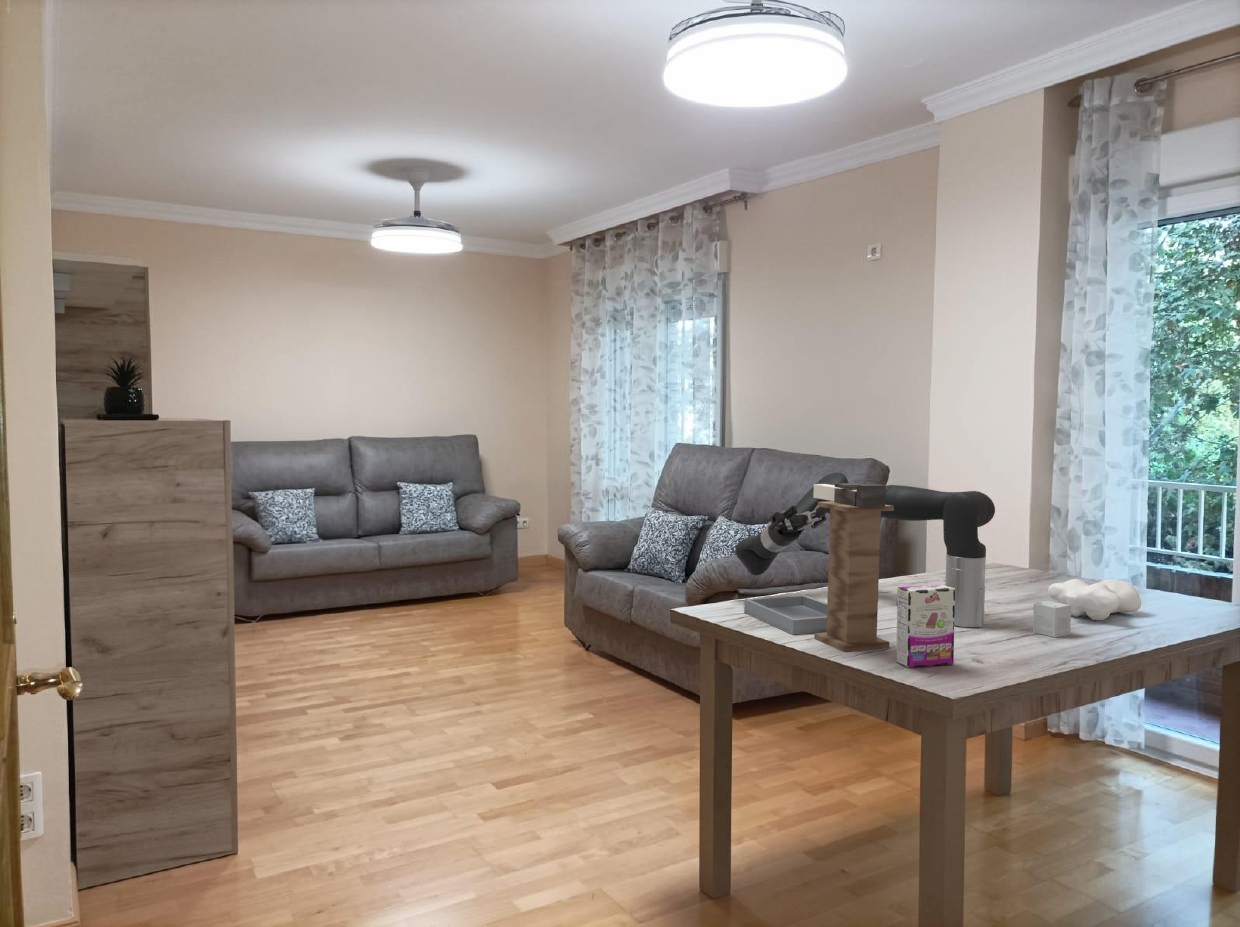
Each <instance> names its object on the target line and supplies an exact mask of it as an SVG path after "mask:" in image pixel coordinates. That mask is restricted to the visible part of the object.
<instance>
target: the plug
mask: <svg viewBox="0 0 1240 927" xmlns="http://www.w3.org/2000/svg"><path fill="white" fill-rule="evenodd" d="M813 486H814V494H813V497H814V498H819V499H824V500H830V501H834V492H835V489H837V488H838V487H835V485H828V484H816V483H814V484H813ZM839 489H844V488H839ZM845 490H851V491H857V489H854V488H851V489H845Z"/></svg>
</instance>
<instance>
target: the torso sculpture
mask: <svg viewBox="0 0 1240 927" xmlns="http://www.w3.org/2000/svg"><path fill="white" fill-rule="evenodd" d="M1047 593H1048V595H1049V597H1050V599H1052V600H1054V601H1055V602H1058V603H1062V604H1067V605H1071V616H1073V617H1074V616H1075V618H1078V617H1080V616H1081V617H1082V616H1083V614H1086V615H1087V616H1088V618H1090V619H1091V620H1092V621H1094V620H1102V621H1104V620H1106V619H1107V618H1108V617H1109V616H1110V614H1116V613H1133V612H1137V611H1138V610H1140V609H1141V607H1142V600H1141V597H1140V593H1139V591H1138V590H1137V587H1135V586H1134V585H1132V584H1131V583H1129V582H1127V581H1122V580H1118V579H1117V580H1116V579H1110V578H1109V579H1108V578H1107V579H1103V580H1101V581H1100V582H1095V583H1093V584H1088V583H1086V582H1084V581H1083V580H1081V579H1078V578H1073V579H1069V580H1067V581H1065V582H1064V581H1063V582H1055V583H1052V584H1050V585H1049V587H1048V590H1047Z"/></svg>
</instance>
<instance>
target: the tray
mask: <svg viewBox="0 0 1240 927" xmlns="http://www.w3.org/2000/svg"><path fill="white" fill-rule="evenodd" d="M743 603H744V604H743V605H744V606H743V608H744V609H743V613H744V614H747V615H749V616H751V617H753V618H756V619H758V620H760V621H762V622H763V623H767V624H769V625H771V626H773V627H775V628H777V629H779V630H782V631H784V632H786V633H788V634H790V635H793V636H797V635H805V634H806V635H807V634H814V633H824V632H827V602H824V601H822V600H818V599H815V598H814V597H811V596H807V595H805V594H799V595H798V594H797V595H784V596H771V597H770V596H769V597H758V598H757V597H756V598H745V599H744V602H743Z"/></svg>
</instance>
